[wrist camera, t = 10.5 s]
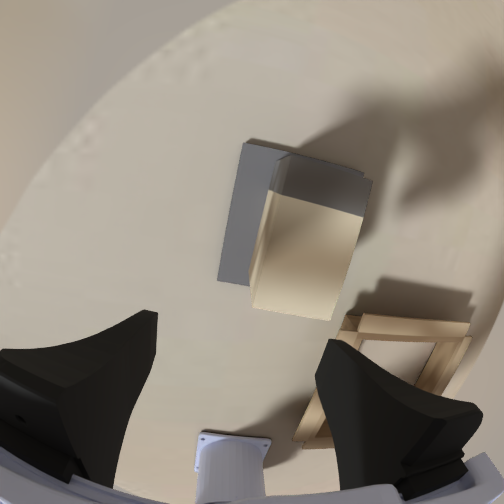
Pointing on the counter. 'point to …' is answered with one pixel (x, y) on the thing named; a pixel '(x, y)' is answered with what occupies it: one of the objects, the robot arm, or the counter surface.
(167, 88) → the counter surface
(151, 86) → the counter surface
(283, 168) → the box
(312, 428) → the square wooden frame
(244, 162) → the mat
